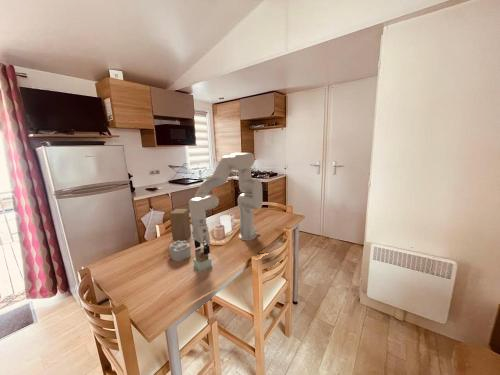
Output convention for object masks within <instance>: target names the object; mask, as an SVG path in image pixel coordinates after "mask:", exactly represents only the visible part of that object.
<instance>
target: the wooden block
mask: <svg viewBox="0 0 500 375" xmlns="http://www.w3.org/2000/svg"><path fill="white" fill-rule="evenodd" d="M169 220H170V227H171V228H170V229H171V236H172V240H174V241H178V240H179V241H186V240H187V239H188V238H189V237H190V236H191V235H192V230H191V229H192V228H191V218H190V208H175V209H173V210H172V211H171V212H169Z"/></svg>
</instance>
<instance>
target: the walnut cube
mask: <svg viewBox="0 0 500 375" xmlns="http://www.w3.org/2000/svg"><path fill="white" fill-rule="evenodd" d="M203 248H204V246H202V247H199V248H196V250H195V249H194V253H195V258H196V259H197V260H198V261H199V262H202V261H204V260H207V259H209V254H207V255H204V249H203Z"/></svg>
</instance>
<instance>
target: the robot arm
mask: <svg viewBox="0 0 500 375" xmlns="http://www.w3.org/2000/svg"><path fill="white" fill-rule="evenodd" d="M255 162H256V159H255V154H253V153H251V152H233V153H230V155H223V156H222V157H221V158H220V160H219V162H218V164H217V166H216V167H215V169H214V171H213V173H212V175H211V176H210V177H209V178H207V179H206V180H205V181H204V182H202V183H201V184H200V185H199V187H198V189H197V190H196V193H195V195H194V197H193V198H190V199H189V200H188V206H189V208H188V209H189V216H190V224H191V227H192V228H191V229H192V231H191V235H192V238H193V241H194V247H195V248H194V249H199V248H201V245H202V247H204V248H203V249H204V255H207V254H208V255H209V254H210V253H211V250H210V247H211V240H210V233H209V232H210V231H209V228H208V225H207V218H206V211H207V210H212V209H215V208H216V207H217V206H218V205H219V203H220V202H219V201H220V200H219V197H217V196H216V195H214V194H211V193H210V194H209V192H211V190H212V191H213V189H215V188H217V187H220V186H222V185H224V184H226V182H227V181H228V179H229V176H230V174H231V172H232V171H237V172H238V174H237V175H238V176H237V177H238V188H239V190H240V191H241V192H243V193H240V194H239V195H238V197H237V205H238V209H239V211H238V212H239V227H240V228H239V229H240V233H239V234H238V238H239V239H240V240H242V241H244V242H245V241H246V242H247V241H252V240H255V239H256V238H257V234H256V233H257V232H258V231H259V228H258V227H257V228H255V224H254V223H255V221H254V210H259V209H261V208H262V206H263V184H262V182H261V180H260V179H258V178H252V171H251V170H252V169H251V167H252V166H253V165H254V164H255Z"/></svg>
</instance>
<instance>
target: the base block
mask: <svg viewBox="0 0 500 375" xmlns="http://www.w3.org/2000/svg"><path fill="white" fill-rule="evenodd" d="M208 257H209V256H208ZM192 259H193V264H194V266H195V267H196V268H198V269H199V270H200V271H201V270H203V269H205V268H207V267H209V266H211V265H212V264H213V262H212V258H211V257H209V259H207V260H204V261H202V262H199V261H198V260H197V259H196V257H194V258H192Z"/></svg>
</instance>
